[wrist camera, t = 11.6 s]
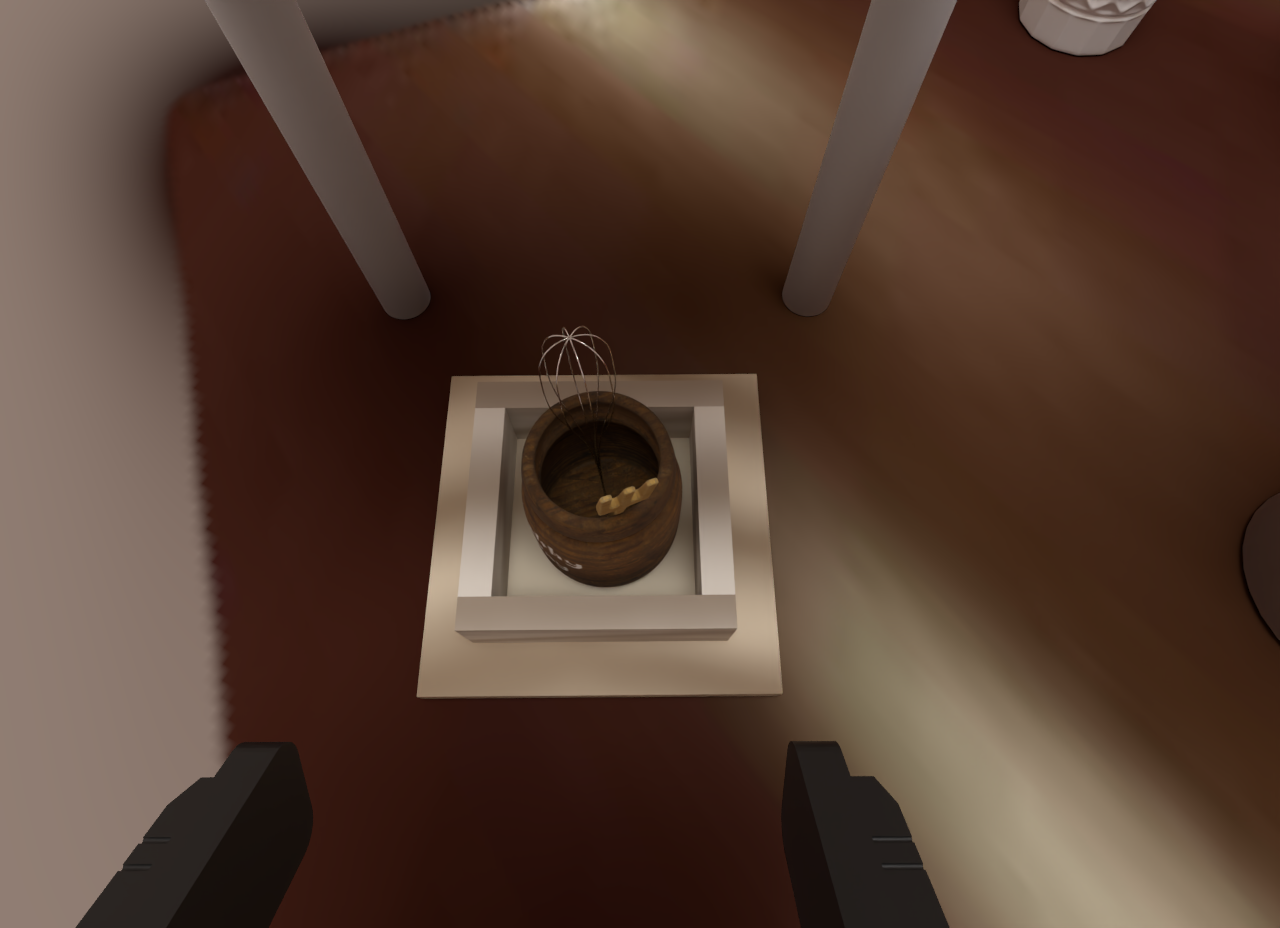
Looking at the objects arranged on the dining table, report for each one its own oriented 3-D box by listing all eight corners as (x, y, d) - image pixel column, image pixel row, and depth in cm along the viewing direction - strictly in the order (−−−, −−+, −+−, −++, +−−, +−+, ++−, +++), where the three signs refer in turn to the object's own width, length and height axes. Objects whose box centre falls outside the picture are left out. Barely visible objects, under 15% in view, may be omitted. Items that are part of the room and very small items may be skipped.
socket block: (778, 695, 27) (799, 686, 24) (424, 698, 27) (390, 690, 24) (753, 384, 33) (767, 337, 29) (457, 386, 33) (433, 340, 29)
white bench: (867, 570, 29) (2308, -582, 4) (338, 574, 29) (-1611, -563, 4) (827, 276, 35) (1309, -955, 10) (385, 279, 35) (-279, -949, 10)
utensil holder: (647, 437, 31) (648, 260, 20) (703, 568, 28) (741, 451, 17) (519, 483, 30) (445, 325, 19) (566, 621, 28) (514, 534, 17)
